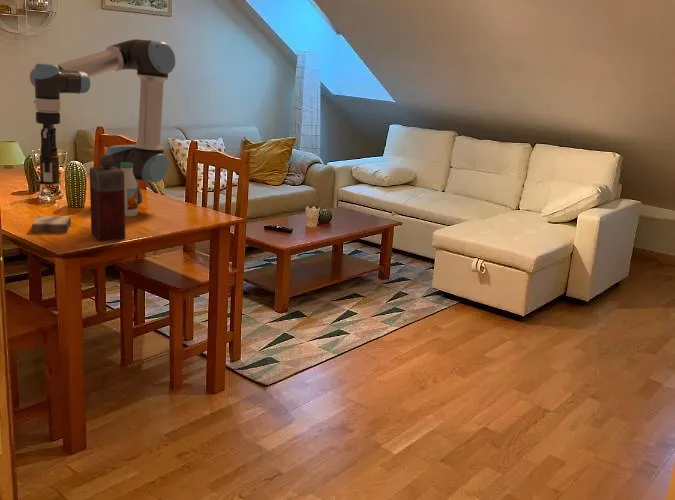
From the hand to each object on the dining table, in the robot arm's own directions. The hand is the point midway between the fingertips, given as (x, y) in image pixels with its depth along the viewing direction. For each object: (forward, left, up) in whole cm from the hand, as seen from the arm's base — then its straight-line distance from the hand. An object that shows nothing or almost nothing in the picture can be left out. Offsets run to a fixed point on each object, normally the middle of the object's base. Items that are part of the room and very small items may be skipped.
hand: (49, 179), depth 238 cm
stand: (0, +2, -17) cm, 17 cm away
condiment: (0, +1, -1) cm, 1 cm away
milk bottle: (-24, -19, -17) cm, 35 cm away
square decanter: (-19, +11, -17) cm, 28 cm away
